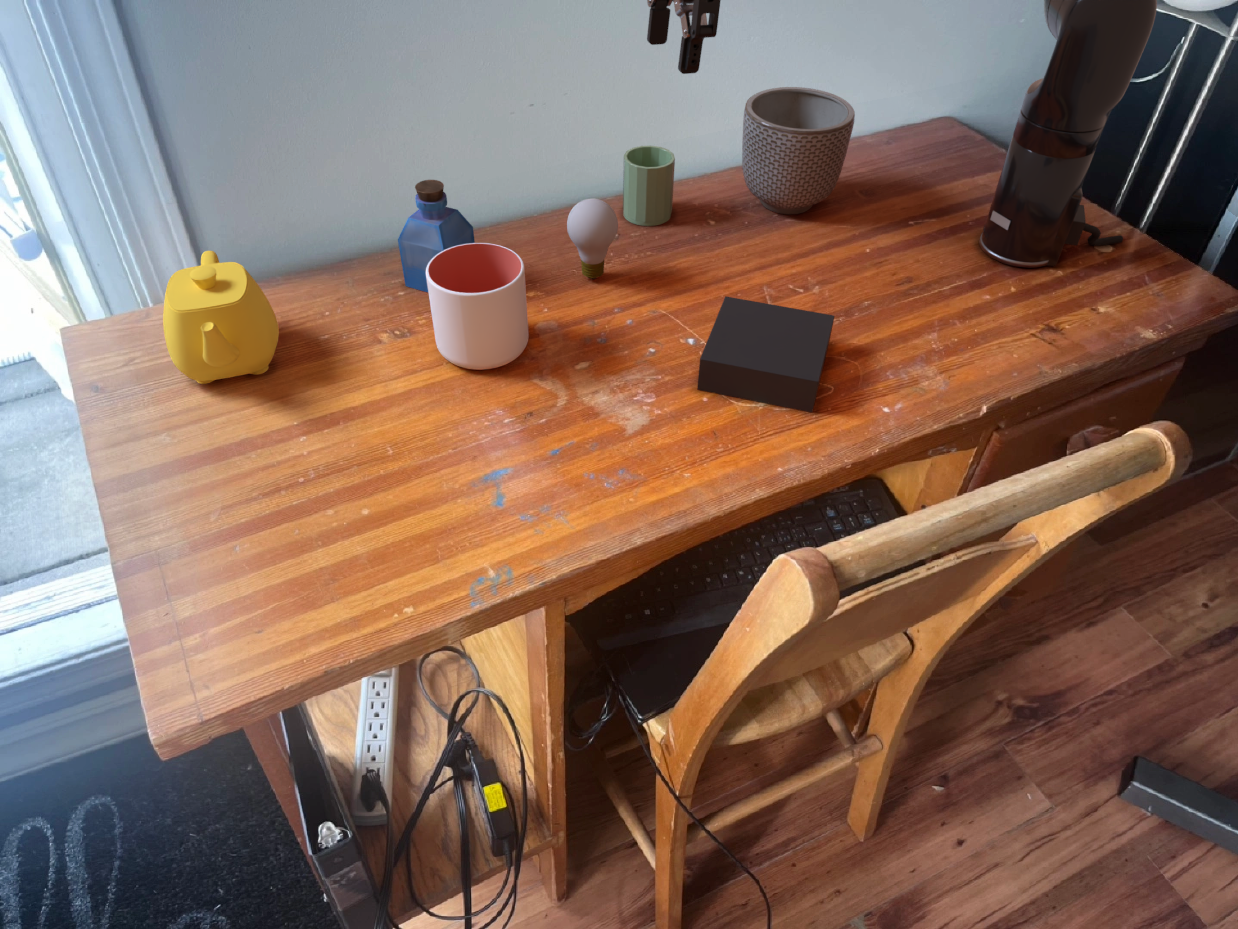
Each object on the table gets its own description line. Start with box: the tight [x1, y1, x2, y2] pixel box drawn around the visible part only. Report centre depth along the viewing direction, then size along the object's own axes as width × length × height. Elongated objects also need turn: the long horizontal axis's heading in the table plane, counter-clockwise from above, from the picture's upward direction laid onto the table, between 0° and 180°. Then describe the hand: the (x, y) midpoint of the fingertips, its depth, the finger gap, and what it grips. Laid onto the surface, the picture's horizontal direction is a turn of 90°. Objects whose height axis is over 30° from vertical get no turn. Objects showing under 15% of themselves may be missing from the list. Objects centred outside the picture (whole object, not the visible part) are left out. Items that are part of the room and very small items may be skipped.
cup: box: [426, 242, 530, 371], centre depth 99 cm, size 10×10×10 cm
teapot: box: [162, 250, 280, 385], centre depth 97 cm, size 18×11×11 cm, turn 18°
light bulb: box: [566, 198, 619, 280], centre depth 110 cm, size 6×6×10 cm
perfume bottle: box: [397, 179, 476, 293], centre depth 108 cm, size 6×6×12 cm
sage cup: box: [622, 145, 676, 227], centre depth 122 cm, size 6×6×8 cm
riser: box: [697, 296, 835, 413], centre depth 100 cm, size 12×12×4 cm
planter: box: [741, 86, 856, 215], centre depth 123 cm, size 14×14×13 cm
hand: (671, 57), depth 105 cm, fingers open, 8 cm apart
